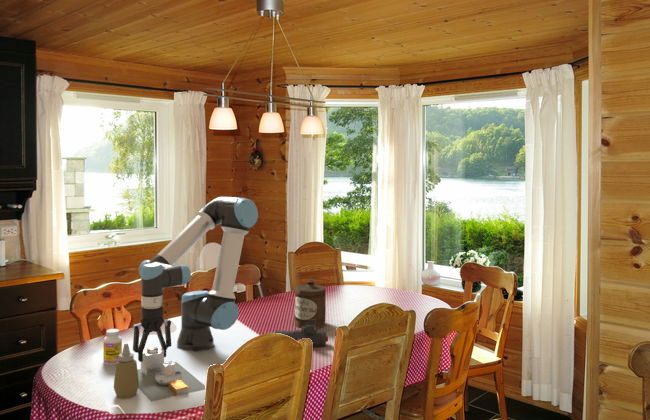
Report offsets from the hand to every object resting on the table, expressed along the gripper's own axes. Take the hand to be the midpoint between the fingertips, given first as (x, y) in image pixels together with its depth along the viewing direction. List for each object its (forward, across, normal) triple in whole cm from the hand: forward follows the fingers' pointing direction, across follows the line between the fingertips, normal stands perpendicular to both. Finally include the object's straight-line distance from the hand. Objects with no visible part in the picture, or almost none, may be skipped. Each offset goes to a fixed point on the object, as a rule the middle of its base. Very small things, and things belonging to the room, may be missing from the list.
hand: (152, 367), depth 215 cm
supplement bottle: (+3, -9, +19) cm, 21 cm away
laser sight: (+3, +66, 0) cm, 66 cm away
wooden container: (+3, +85, +23) cm, 88 cm away
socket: (+2, 0, 0) cm, 2 cm away
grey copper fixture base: (+2, +2, -15) cm, 16 cm away
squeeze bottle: (+3, -14, -14) cm, 20 cm away
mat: (+3, +2, -9) cm, 9 cm away
